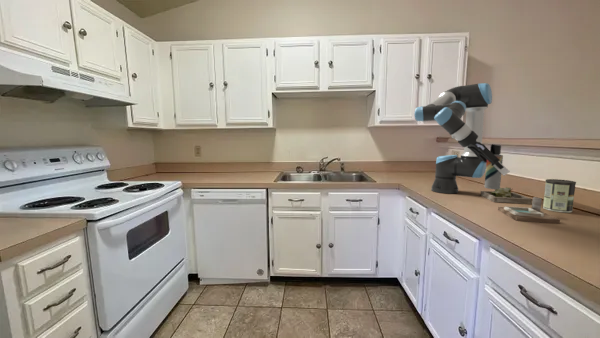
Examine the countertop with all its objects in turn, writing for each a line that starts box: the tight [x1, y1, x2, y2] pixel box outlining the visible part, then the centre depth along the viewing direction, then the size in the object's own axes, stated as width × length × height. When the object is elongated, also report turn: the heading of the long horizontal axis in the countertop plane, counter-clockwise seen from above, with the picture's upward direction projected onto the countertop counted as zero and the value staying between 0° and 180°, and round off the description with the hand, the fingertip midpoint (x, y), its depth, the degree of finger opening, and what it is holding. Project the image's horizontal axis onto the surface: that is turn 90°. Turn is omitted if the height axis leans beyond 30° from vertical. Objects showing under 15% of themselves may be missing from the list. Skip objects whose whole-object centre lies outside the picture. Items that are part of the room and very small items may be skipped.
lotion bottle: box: [484, 143, 504, 190], centre depth 117 cm, size 6×6×20 cm
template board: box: [497, 197, 561, 224], centre depth 115 cm, size 16×15×8 cm
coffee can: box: [542, 178, 577, 214], centre depth 124 cm, size 10×10×14 cm
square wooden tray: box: [480, 190, 533, 205], centre depth 145 cm, size 17×17×2 cm
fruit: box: [491, 186, 513, 198], centre depth 147 cm, size 9×9×8 cm
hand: (502, 172), depth 116 cm, fingers closed on lotion bottle, 5 cm apart
